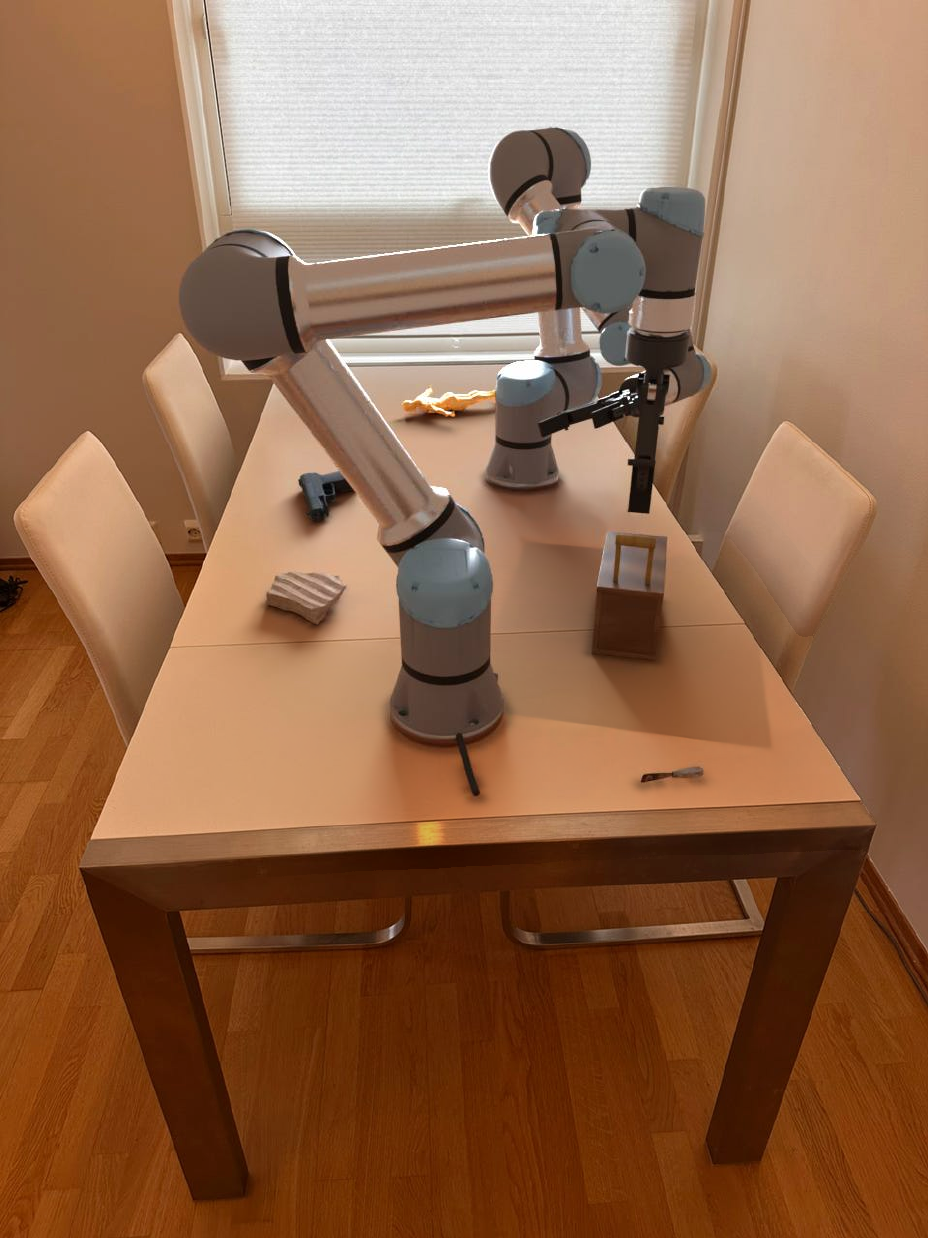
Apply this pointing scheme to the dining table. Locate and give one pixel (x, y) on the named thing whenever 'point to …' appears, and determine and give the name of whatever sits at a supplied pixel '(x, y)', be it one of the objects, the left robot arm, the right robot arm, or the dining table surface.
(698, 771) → the putty knife
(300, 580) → the stone
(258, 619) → the dining table surface
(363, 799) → the dining table surface
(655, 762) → the dining table surface
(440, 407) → the human figure
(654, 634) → the chest
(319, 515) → the handgun
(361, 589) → the dining table surface
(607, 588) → the lid
